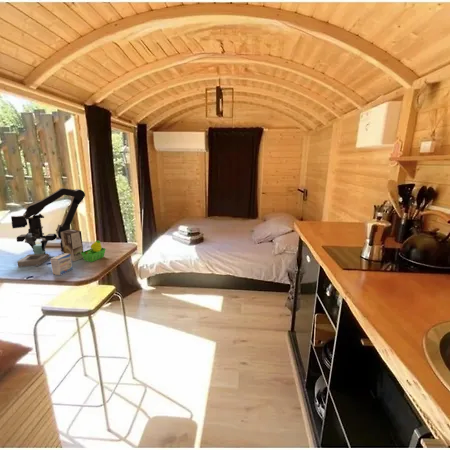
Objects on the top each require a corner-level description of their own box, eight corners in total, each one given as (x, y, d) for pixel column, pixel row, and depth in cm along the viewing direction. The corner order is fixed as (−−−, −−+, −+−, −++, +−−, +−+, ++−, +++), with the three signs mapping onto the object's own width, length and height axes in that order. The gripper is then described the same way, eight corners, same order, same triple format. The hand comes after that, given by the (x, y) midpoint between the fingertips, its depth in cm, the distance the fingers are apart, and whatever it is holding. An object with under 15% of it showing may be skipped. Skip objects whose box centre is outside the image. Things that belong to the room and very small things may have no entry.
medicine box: (60, 275, 123) (57, 259, 121) (52, 274, 124) (50, 258, 122) (72, 269, 131) (70, 253, 129) (65, 268, 132) (63, 252, 129)
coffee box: (84, 257, 146) (81, 231, 142) (74, 261, 141) (70, 233, 137) (74, 254, 150) (71, 228, 146) (63, 258, 144) (60, 231, 140)
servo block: (46, 251, 154) (45, 242, 152) (40, 255, 147) (39, 246, 146) (38, 251, 153) (37, 243, 152) (33, 255, 146) (31, 246, 145)
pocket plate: (49, 257, 145) (48, 253, 144) (39, 265, 134) (39, 260, 134) (29, 258, 143) (28, 254, 142) (18, 266, 132) (17, 261, 132)
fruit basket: (97, 254, 152) (95, 236, 149) (108, 256, 149) (107, 238, 146) (81, 261, 141) (78, 242, 138) (93, 263, 138) (91, 244, 135)
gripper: (8, 230, 136) (13, 257, 140) (46, 229, 140) (50, 255, 144) (20, 225, 147) (24, 250, 151) (55, 224, 151) (59, 248, 155)
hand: (39, 251), depth 150 cm, fingers closed on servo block, 4 cm apart
